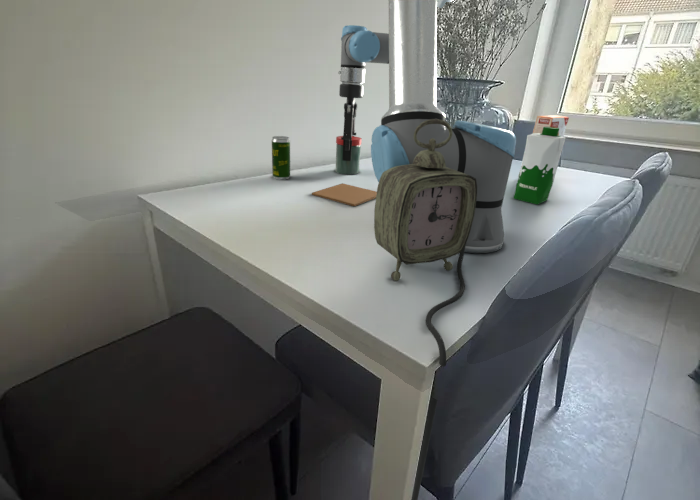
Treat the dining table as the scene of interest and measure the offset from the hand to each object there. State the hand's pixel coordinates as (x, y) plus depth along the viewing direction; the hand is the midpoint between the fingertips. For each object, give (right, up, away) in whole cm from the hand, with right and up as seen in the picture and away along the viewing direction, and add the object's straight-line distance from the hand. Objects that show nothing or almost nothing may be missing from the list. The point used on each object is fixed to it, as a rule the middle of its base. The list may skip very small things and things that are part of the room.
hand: (347, 157), depth 129 cm
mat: (0, -16, -23) cm, 28 cm away
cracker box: (+69, -4, +13) cm, 70 cm away
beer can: (-20, -9, -10) cm, 24 cm away
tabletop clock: (+12, -34, -61) cm, 71 cm away
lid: (0, +5, -3) cm, 6 cm away
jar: (0, -4, +2) cm, 5 cm away
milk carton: (+53, -16, -16) cm, 58 cm away
